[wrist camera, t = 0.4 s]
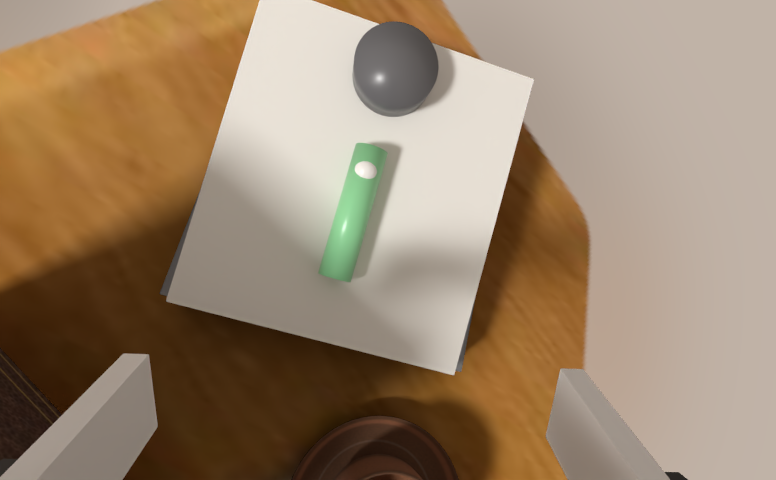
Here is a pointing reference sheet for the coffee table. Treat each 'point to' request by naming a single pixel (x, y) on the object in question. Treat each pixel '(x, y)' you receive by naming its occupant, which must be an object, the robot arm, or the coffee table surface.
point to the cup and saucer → (376, 453)
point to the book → (21, 411)
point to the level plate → (309, 180)
